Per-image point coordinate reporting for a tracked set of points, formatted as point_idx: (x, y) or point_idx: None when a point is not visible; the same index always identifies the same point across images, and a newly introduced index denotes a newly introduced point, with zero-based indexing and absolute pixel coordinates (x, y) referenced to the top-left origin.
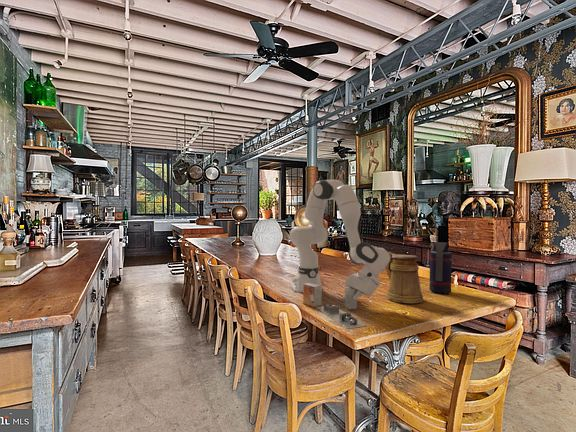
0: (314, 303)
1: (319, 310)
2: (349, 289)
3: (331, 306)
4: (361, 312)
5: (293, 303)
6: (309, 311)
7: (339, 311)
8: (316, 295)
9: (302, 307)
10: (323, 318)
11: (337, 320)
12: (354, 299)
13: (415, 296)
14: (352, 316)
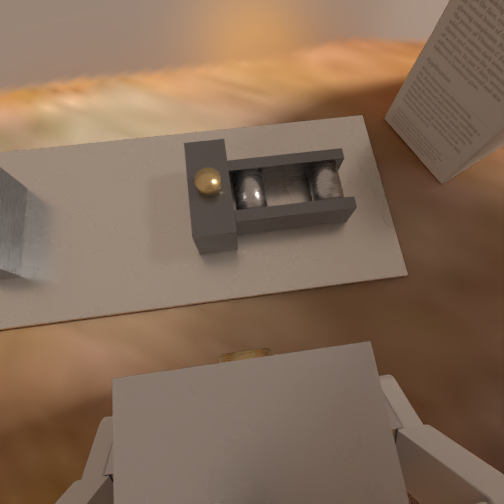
0: (396, 96)
1: (289, 126)
2: (248, 421)
3: (219, 169)
4: None
5: None
6: (284, 61)
7: (208, 260)
8: (448, 52)
9: (383, 43)
10: (110, 101)
11: (5, 164)
12: None
13: None
14: (39, 323)
